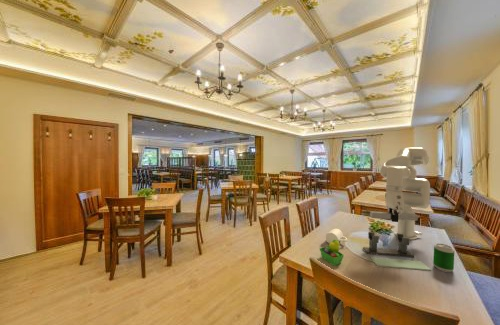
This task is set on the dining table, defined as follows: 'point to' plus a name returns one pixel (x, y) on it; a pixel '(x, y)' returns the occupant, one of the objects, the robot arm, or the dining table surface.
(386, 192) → the robot arm
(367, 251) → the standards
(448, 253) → the soda can
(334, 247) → the fruit basket
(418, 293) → the dining table surface
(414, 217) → the rail
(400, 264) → the mat
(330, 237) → the mug
